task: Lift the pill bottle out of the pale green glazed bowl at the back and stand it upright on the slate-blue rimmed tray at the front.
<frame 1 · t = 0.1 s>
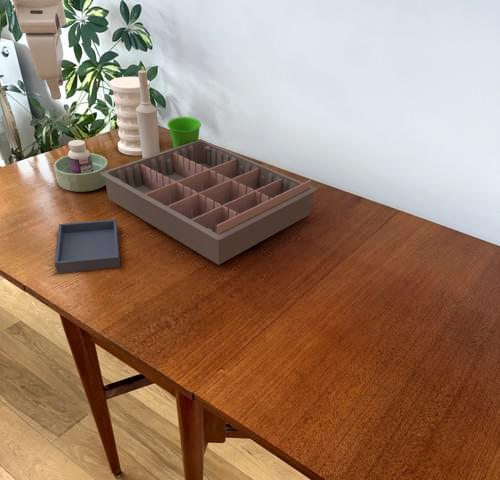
hand: (58, 91, 99), 24 cm above the table, tool pointing down, fingers open, 8 cm apart
decorative container: (137, 148, 139), on the table
organizer tray: (208, 212, 113), on the table
pill bottle: (84, 180, 121), resting on bowl
bowl: (84, 182, 122), on the table
bottle: (153, 173, 127), on the table
cup: (186, 163, 133), on the table
tray: (89, 249, 99), on the table
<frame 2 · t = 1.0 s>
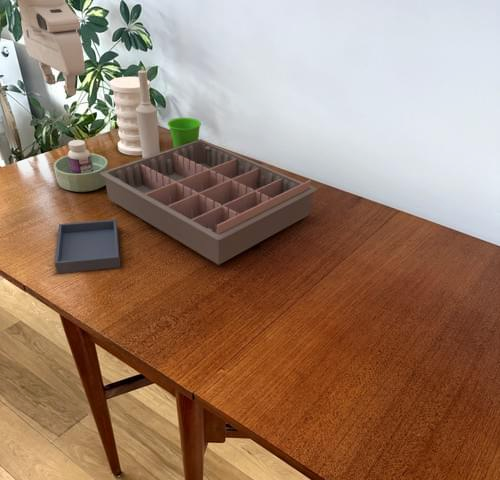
hand: (60, 89, 101), 24 cm above the table, tool pointing down, fingers open, 8 cm apart
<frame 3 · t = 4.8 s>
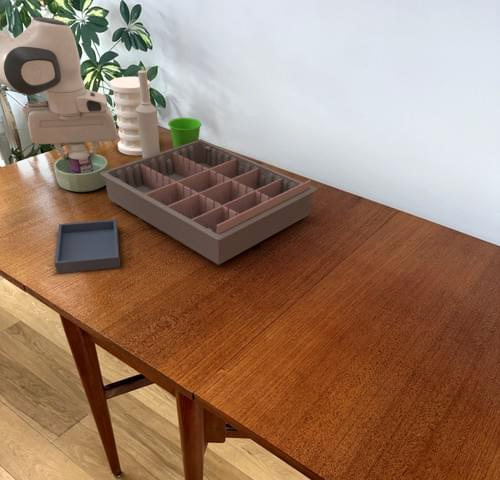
hand: (80, 158, 117), 6 cm above the table, tool pointing down, fingers closed on pill bottle, 5 cm apart
pill bottle: (84, 180, 121), resting on bowl, touching gripper
everything else where it was.
when the fingers open (6 cm above the table, at t = 13.7 s): pill bottle stays where it is, resting on tray.
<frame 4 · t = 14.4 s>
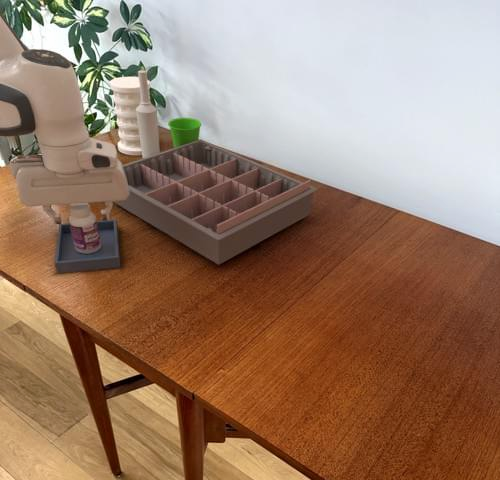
hand: (82, 221, 94), 7 cm above the table, tool pointing down, fingers open, 8 cm apart
pill bottle: (89, 248, 99), resting on tray
everything else where it was.
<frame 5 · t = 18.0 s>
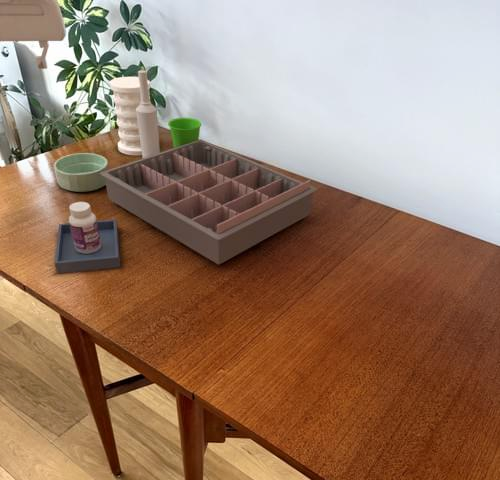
hand: (16, 68, 87), 31 cm above the table, tool pointing down, fingers open, 8 cm apart
nothing on the table moved.
at the end: pill bottle inside the target area in the tray (0.1 cm from its centre), point 0.3 cm above the tray's base; pill bottle tilted 0° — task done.
